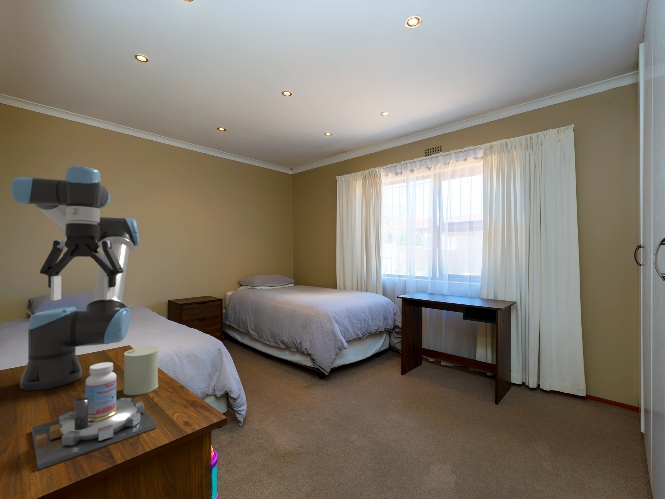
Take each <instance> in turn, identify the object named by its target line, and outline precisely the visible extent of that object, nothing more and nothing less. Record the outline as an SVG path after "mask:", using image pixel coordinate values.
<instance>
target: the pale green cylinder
mask: <svg viewBox="0 0 665 499" xmlns="http://www.w3.org/2000/svg"><path fill="white" fill-rule="evenodd" d="M123 358H124V359H123V360H124V362H123V364H124V365H123V367H124V368H123V370H124V371H123V373H124V375H123V394H124V395H126V396H140V395H144V394H148V393H151V392H152V391H155V390H157V388H158V387H159V379H158V374H159V372H158V371H159V370H158V368H159V365H158V363H159V361H158V360H159V348H158V347H155V346H144V347H143V346H142V347H136V348H132V349H129V350H127V351H125V352H124V353H123Z"/></svg>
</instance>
